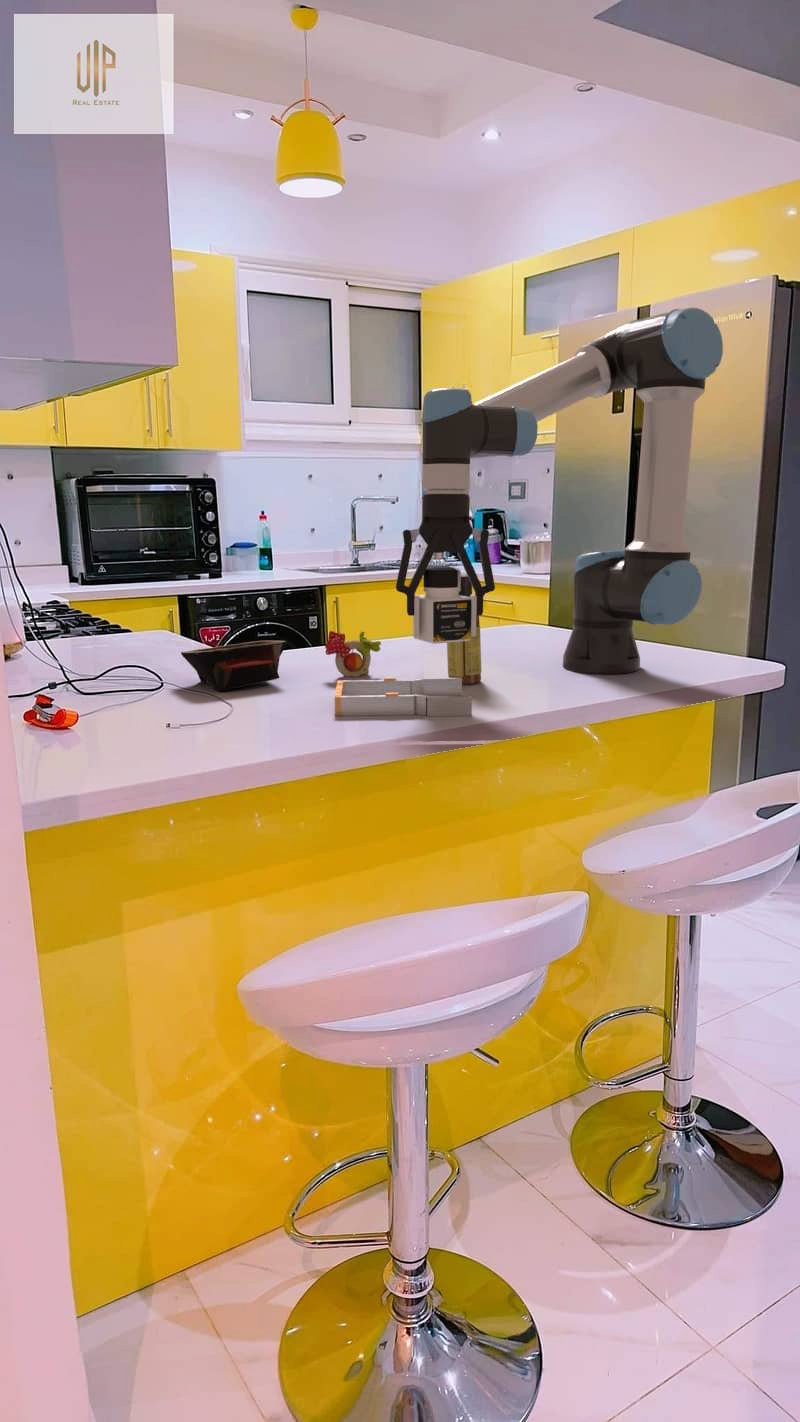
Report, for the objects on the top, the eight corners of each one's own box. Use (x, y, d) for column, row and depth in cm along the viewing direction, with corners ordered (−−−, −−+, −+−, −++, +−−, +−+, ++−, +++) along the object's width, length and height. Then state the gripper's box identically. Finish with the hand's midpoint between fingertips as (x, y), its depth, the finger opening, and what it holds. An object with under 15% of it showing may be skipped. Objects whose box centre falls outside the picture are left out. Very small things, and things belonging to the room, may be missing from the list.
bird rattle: (385, 677, 177) (385, 630, 175) (337, 683, 171) (335, 635, 169) (367, 672, 182) (366, 627, 180) (319, 679, 176) (318, 631, 174)
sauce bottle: (481, 679, 174) (482, 573, 169) (481, 686, 168) (482, 576, 163) (446, 679, 174) (447, 573, 170) (445, 685, 168) (445, 576, 164)
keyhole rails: (461, 694, 161) (461, 675, 160) (471, 715, 144) (471, 694, 144) (338, 696, 160) (337, 676, 159) (334, 717, 144) (334, 696, 143)
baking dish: (186, 695, 173) (173, 644, 170) (272, 669, 181) (261, 620, 178) (212, 710, 161) (199, 655, 158) (302, 681, 169) (292, 629, 166)
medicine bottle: (433, 644, 147) (433, 568, 144) (412, 638, 153) (412, 565, 150) (471, 641, 150) (472, 566, 147) (449, 635, 156) (450, 564, 154)
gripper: (509, 493, 149) (506, 632, 154) (378, 493, 148) (379, 632, 153) (516, 492, 142) (513, 638, 146) (378, 492, 141) (379, 639, 146)
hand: (444, 635), depth 150 cm, fingers closed on medicine bottle, 8 cm apart
